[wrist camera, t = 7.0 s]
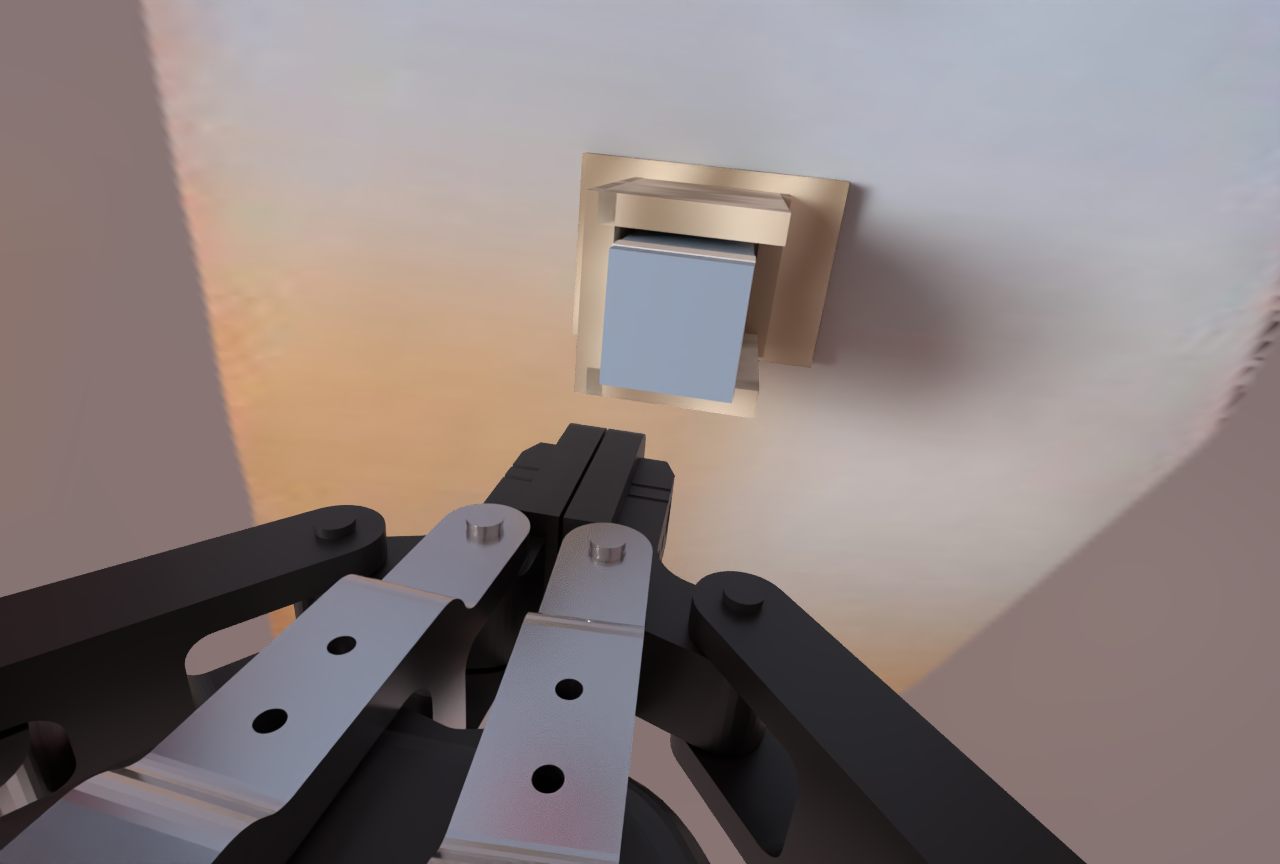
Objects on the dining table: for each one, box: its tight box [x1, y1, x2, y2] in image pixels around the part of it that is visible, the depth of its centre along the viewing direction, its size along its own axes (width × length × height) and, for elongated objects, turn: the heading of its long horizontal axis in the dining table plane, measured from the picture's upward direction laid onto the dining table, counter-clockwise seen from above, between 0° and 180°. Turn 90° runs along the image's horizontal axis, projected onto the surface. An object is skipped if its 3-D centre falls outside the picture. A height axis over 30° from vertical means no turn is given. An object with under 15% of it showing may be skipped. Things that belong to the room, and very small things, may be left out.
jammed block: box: [599, 229, 756, 403], centre depth 30 cm, size 5×5×14 cm
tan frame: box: [572, 153, 850, 418], centre depth 32 cm, size 14×10×13 cm
